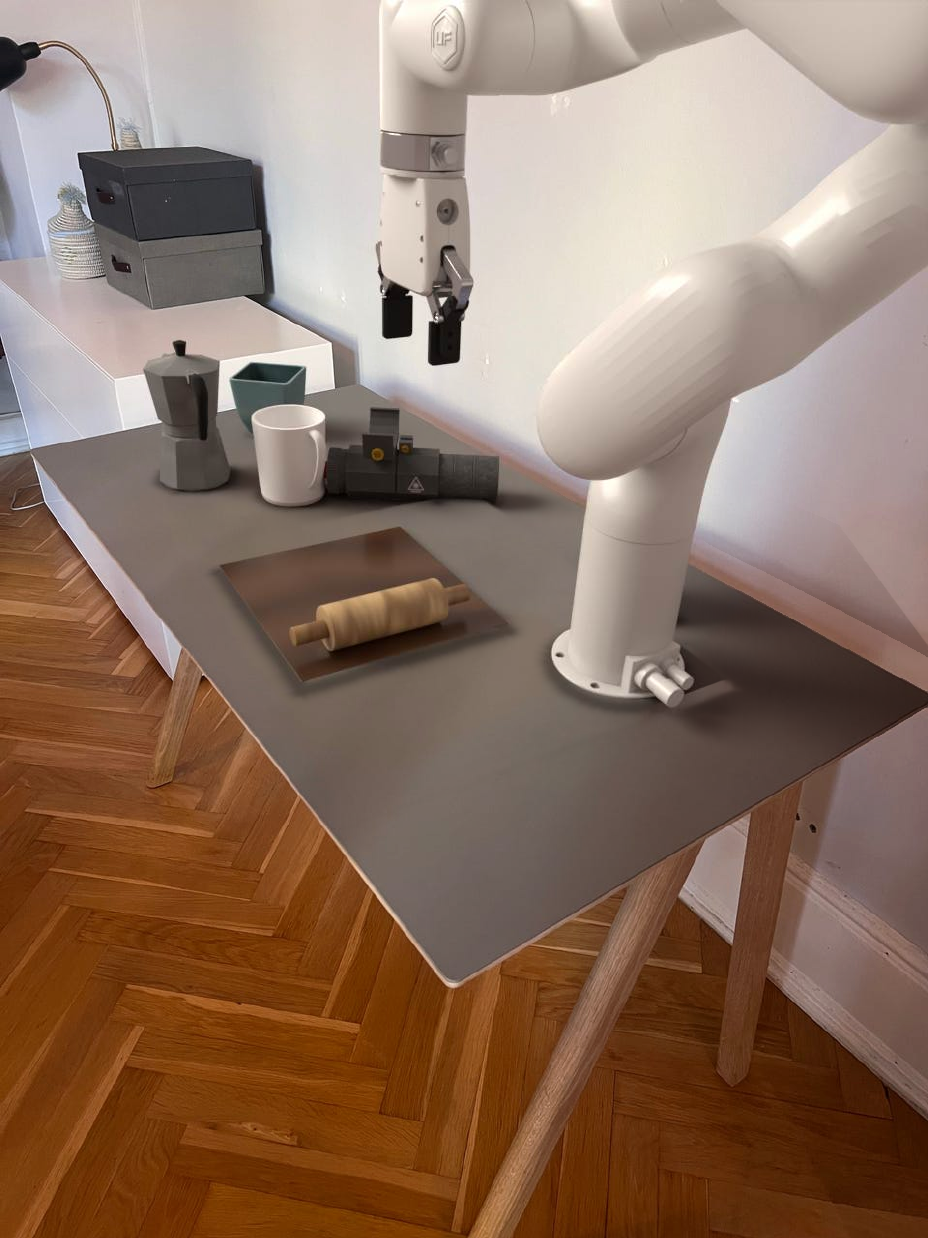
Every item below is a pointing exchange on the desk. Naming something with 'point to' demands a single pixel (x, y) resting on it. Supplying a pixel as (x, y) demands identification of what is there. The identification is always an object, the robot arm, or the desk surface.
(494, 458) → the laser sight
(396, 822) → the desk surface
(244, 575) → the pastry board
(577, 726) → the desk surface
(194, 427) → the coffeepot
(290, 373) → the flower pot
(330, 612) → the rolling pin
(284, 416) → the mug
